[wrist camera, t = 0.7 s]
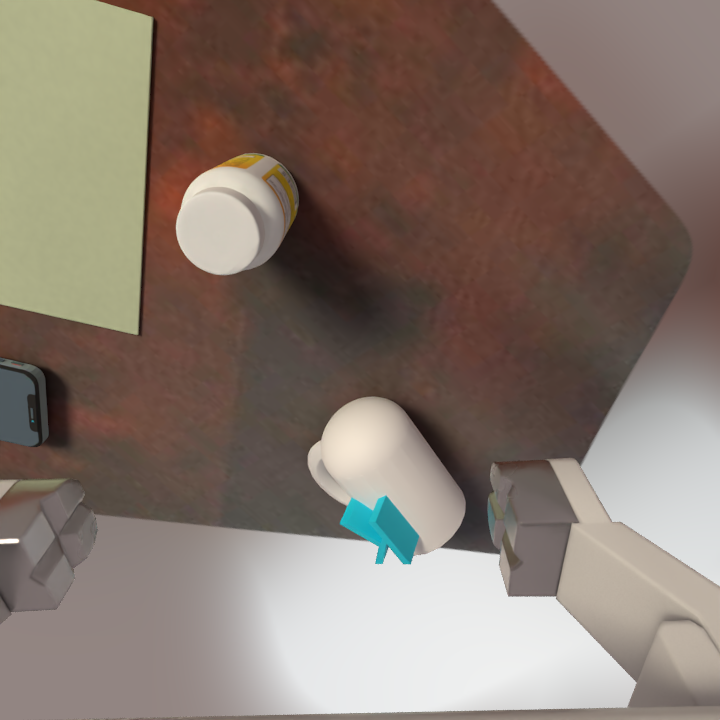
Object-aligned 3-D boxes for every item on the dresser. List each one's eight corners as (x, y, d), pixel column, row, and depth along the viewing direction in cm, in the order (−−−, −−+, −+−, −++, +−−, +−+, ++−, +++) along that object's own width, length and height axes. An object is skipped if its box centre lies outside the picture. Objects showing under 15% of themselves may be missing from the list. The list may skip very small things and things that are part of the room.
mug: (356, 468, 30) (449, 580, 35) (400, 369, 36) (473, 476, 41) (233, 484, 37) (325, 576, 41) (288, 399, 43) (362, 488, 48)
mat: (-163, -77, 26) (-167, -78, 25) (153, 17, 27) (152, 17, 27) (-93, 281, 35) (-95, 282, 35) (138, 334, 37) (137, 335, 37)
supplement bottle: (313, 179, 31) (295, 214, 23) (278, 252, 34) (249, 308, 25) (234, 134, 30) (183, 153, 22) (203, 212, 32) (146, 257, 24)
